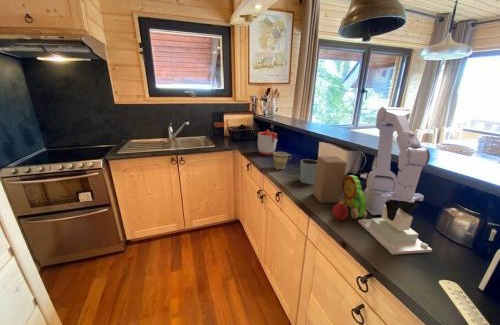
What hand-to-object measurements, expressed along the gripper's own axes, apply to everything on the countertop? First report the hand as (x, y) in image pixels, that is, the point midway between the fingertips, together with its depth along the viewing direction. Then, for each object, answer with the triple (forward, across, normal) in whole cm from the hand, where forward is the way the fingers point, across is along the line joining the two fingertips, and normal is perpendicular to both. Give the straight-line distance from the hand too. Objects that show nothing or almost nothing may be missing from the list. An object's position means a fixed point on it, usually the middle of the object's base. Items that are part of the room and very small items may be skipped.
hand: (395, 218), depth 74 cm
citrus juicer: (+7, -24, +108) cm, 111 cm away
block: (+7, -11, +29) cm, 32 cm away
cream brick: (+2, 0, 0) cm, 2 cm away
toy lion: (+7, -5, +18) cm, 20 cm away
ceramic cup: (+7, -21, +73) cm, 76 cm away
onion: (+7, -14, +11) cm, 19 cm away
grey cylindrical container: (+7, -12, +50) cm, 52 cm away
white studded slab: (+7, 0, 0) cm, 7 cm away
